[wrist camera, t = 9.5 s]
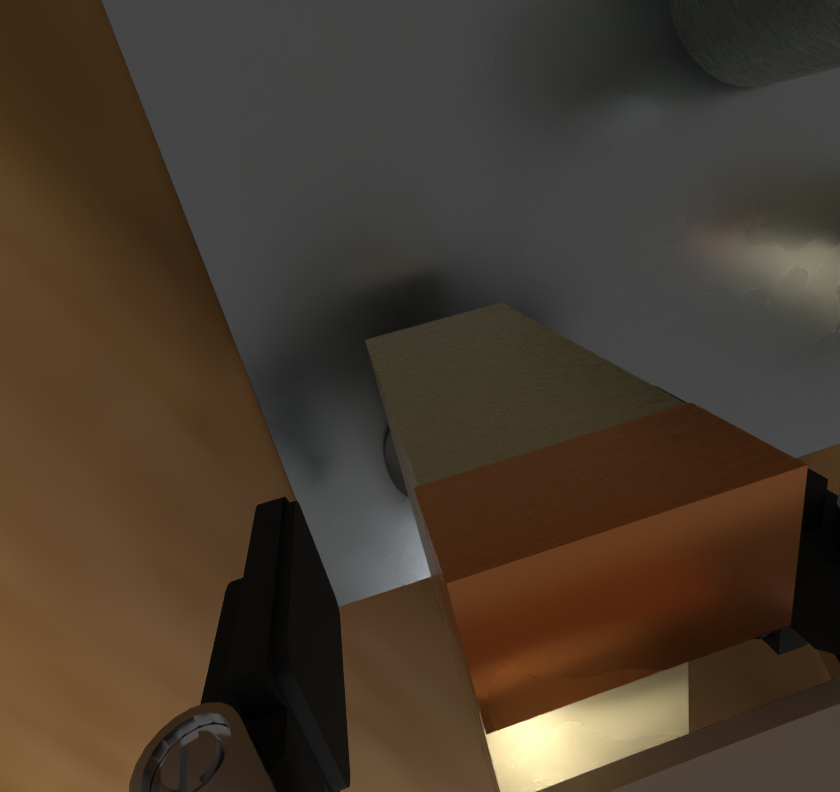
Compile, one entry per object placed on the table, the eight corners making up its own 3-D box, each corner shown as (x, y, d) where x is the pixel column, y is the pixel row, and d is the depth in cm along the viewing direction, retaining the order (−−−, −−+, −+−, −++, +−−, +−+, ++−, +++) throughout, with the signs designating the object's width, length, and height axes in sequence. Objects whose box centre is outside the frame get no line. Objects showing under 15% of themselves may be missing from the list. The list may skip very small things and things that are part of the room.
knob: (522, 560, 14) (754, 962, 7) (431, 590, 14) (568, 1042, 6) (472, 284, 11) (807, 464, 4) (353, 316, 11) (447, 583, 3)
